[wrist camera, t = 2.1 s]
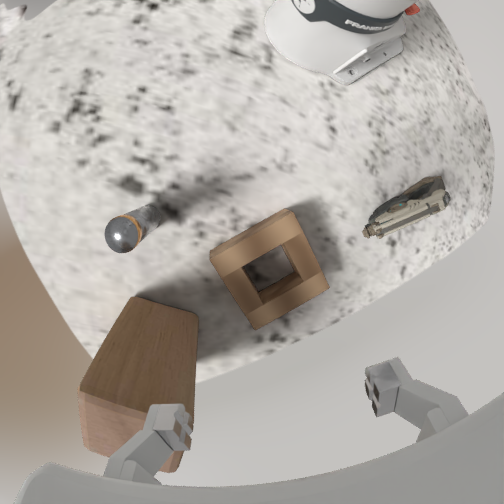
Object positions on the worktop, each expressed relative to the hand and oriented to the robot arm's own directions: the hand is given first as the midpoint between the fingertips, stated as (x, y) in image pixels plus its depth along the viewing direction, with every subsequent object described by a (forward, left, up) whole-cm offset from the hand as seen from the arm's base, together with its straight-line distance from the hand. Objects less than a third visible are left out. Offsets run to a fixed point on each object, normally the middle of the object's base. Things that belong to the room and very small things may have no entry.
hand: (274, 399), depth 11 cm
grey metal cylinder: (+7, -9, -26) cm, 28 cm away
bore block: (-3, +4, -26) cm, 27 cm away
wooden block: (+15, +5, -26) cm, 31 cm away
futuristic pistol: (-24, +6, -26) cm, 36 cm away
